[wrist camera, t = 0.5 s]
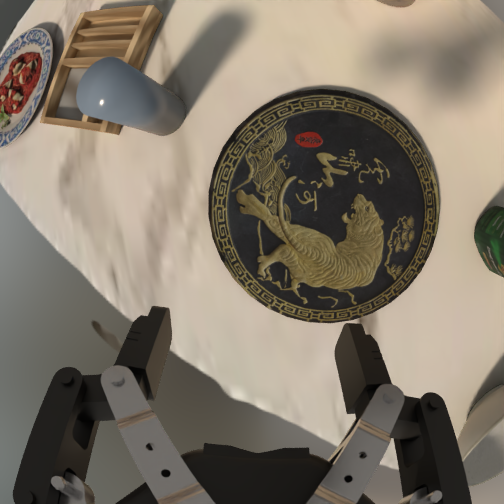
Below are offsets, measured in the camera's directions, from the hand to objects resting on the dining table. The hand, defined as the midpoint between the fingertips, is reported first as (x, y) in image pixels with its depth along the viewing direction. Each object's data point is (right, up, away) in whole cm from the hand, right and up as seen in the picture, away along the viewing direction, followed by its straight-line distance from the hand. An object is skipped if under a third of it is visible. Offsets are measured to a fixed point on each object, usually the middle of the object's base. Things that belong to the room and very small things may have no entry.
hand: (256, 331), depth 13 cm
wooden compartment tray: (-23, +32, +21) cm, 45 cm away
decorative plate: (+9, +9, +23) cm, 26 cm away
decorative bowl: (+49, -29, +26) cm, 62 cm away
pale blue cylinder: (-12, +22, +22) cm, 33 cm away
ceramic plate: (-47, +36, +24) cm, 64 cm away
